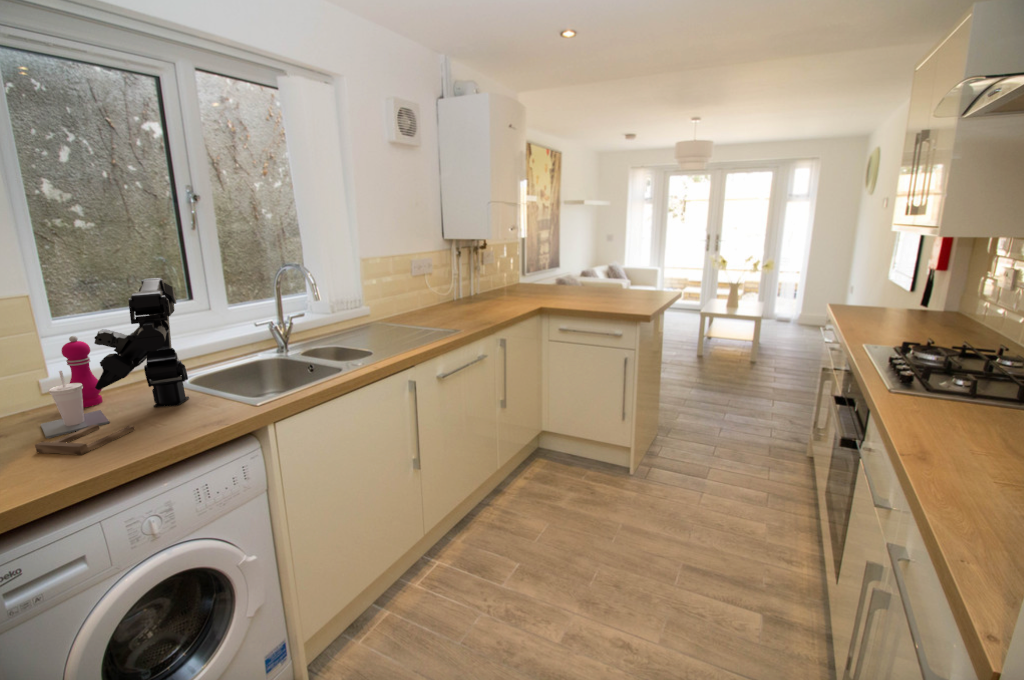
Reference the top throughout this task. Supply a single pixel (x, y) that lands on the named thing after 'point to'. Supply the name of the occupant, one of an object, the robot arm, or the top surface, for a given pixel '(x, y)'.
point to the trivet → (60, 428)
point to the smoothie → (69, 401)
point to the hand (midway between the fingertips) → (103, 383)
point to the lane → (79, 448)
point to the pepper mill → (82, 370)
